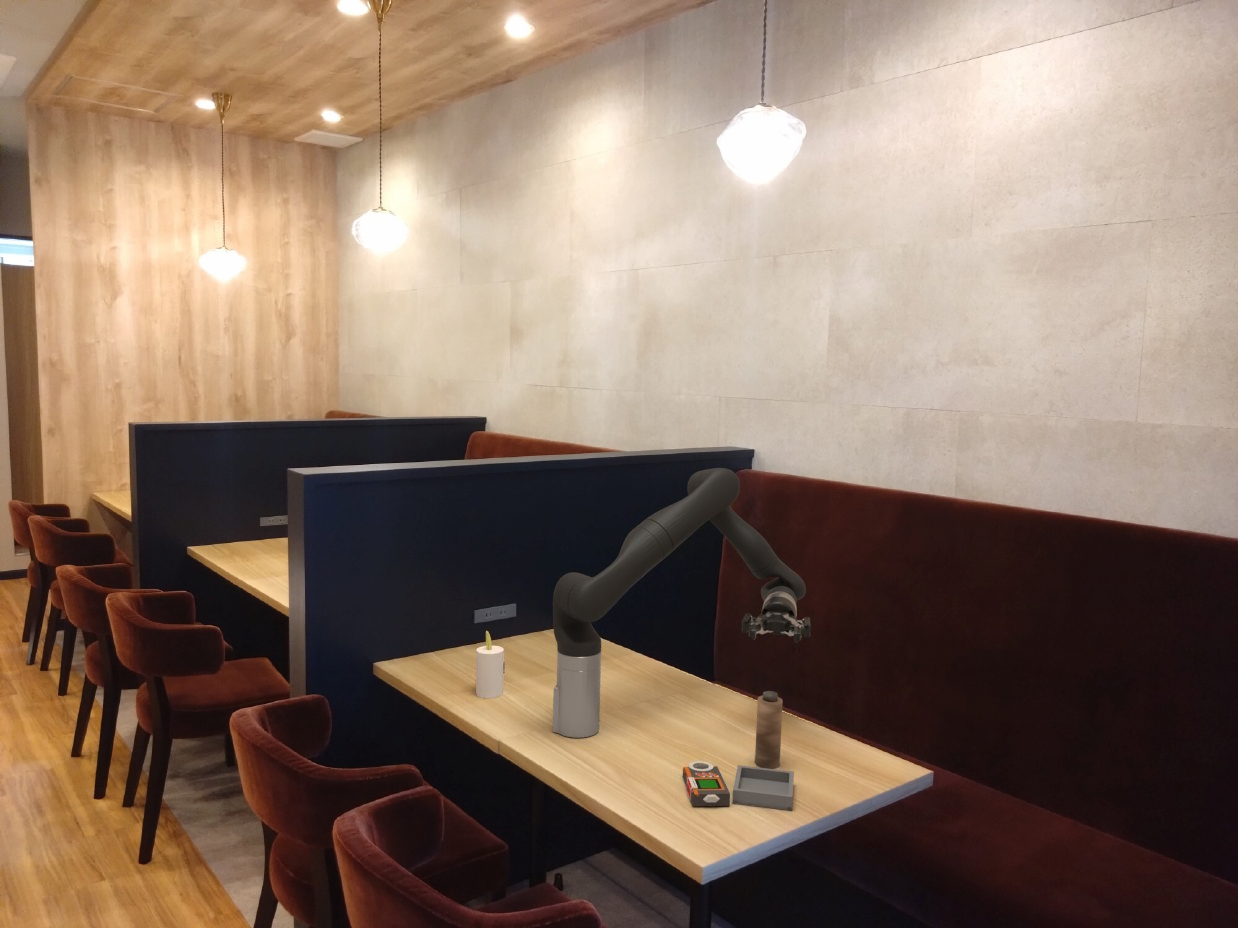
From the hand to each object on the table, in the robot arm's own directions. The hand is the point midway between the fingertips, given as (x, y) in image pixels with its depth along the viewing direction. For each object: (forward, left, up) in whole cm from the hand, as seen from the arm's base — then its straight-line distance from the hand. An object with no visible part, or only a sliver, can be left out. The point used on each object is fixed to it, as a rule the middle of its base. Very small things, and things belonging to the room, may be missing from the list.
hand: (774, 636), depth 185 cm
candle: (-65, +10, -23) cm, 70 cm away
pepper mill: (0, -11, -23) cm, 25 cm away
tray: (0, -24, -23) cm, 33 cm away
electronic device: (-11, -24, -23) cm, 35 cm away
